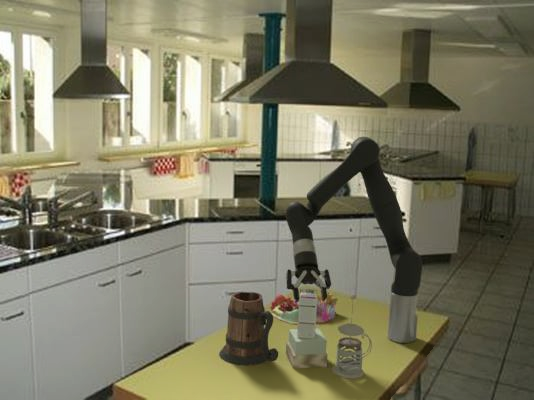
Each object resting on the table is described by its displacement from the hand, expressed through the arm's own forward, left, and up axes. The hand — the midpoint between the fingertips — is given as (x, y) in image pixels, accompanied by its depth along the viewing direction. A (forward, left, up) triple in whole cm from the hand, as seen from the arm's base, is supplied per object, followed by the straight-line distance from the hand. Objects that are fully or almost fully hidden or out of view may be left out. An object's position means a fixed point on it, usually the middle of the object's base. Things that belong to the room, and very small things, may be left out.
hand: (311, 300), depth 184 cm
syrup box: (+1, -1, -12) cm, 12 cm away
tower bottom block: (0, -1, -21) cm, 21 cm away
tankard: (+18, -4, -21) cm, 28 cm away
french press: (-12, +8, -21) cm, 25 cm away
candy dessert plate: (-9, -43, -21) cm, 48 cm away
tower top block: (0, -1, -17) cm, 17 cm away
